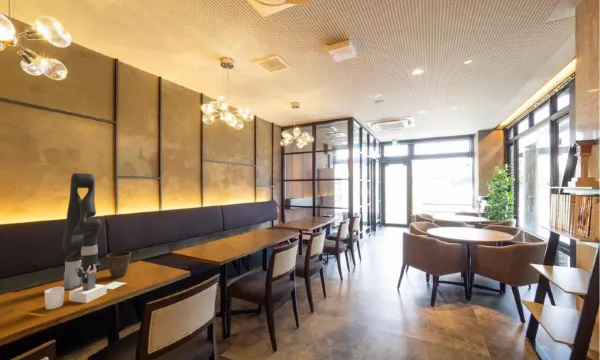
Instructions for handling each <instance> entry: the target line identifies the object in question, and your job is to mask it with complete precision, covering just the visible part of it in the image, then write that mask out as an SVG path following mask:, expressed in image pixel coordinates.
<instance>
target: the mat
mask: <svg viewBox="0 0 600 360" xmlns="http://www.w3.org/2000/svg"><path fill="white" fill-rule="evenodd" d="M106 285H107V290H108V289H109V290H114V289H116V288H119V287H121V286H123V285H127V282H120V281H112V282H110V283H108V284H106Z"/></svg>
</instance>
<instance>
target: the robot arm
mask: <svg viewBox="0 0 600 360" xmlns="http://www.w3.org/2000/svg"><path fill="white" fill-rule="evenodd" d="M95 180H96V179H95V176H94V174H91V173H85V172H84V173H83V172H79V173H78V172H74V173H72V175H71V177H70V189H69V201H68V206H67V207H68V208H67V212H66V220H65V221H66V223H65V229H64V233H63V236H62V237H63V238H62V244H61V247H62V248H61V249H62V250H63V251H65V252H70V251H74V250H75V251H74V252H72V253H70V254H68V255H66V256H65V257H64V258H65V260H64V263H65V266H64V268H65V269H64V273H63V287H65V289H66V290H74V289H78V288H80V287H83V284H87V273H88V272H89V271H90V270H95V269H96V272H95V280H96V279H97V274H98V273H99V272H100V270H101V267H102V263H103V261H98V259H99V257H98V252H99V249H98V248H99V247H98V237H99V232H100V230H101V227H102V221H101V219H100V218H93V217H95V216H96V213H97V212H96V211H97V209H96V204H95V203H96V202H95V195H96V194H95V193H96V192H95V190H96V189H95V187H96V182H95ZM79 189H87V192H86V194H85V195H84V197H83V198H81V196H80V194H79V191H78V190H79ZM76 229H77V230H79V231H80V232H81V233H82V232H91V233H89V234H86V235H84V234H76V235H74V233H75V231H76ZM85 271H86V272H85ZM84 273H85V274H84ZM65 289H64V290H65Z"/></svg>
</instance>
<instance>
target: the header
mask: <svg viewBox="0 0 600 360" xmlns="http://www.w3.org/2000/svg"><path fill="white" fill-rule="evenodd" d="M107 291H108V289H107V284H96V283H95V288H93V289H91V290H88V291H85V290H83V286H80V287H77V288H74V289H72V290H71V291H69V293H68V294H69V295H68V299H69V300H68V301H69V302H75V303H83V304H88V303H90V302H92V301H94V300H96V299H98V298H101V297H102V296H104V295H106V294H107Z"/></svg>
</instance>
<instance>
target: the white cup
mask: <svg viewBox="0 0 600 360" xmlns="http://www.w3.org/2000/svg"><path fill="white" fill-rule="evenodd" d="M64 299H65V287H64V286H54V287H51V288H48V289H46V290H44V303H45V304H44V305H45V309H46V310H53V309H57V308H60V307H62V306H64V305H63V304H64V302H65V301H64Z"/></svg>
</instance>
